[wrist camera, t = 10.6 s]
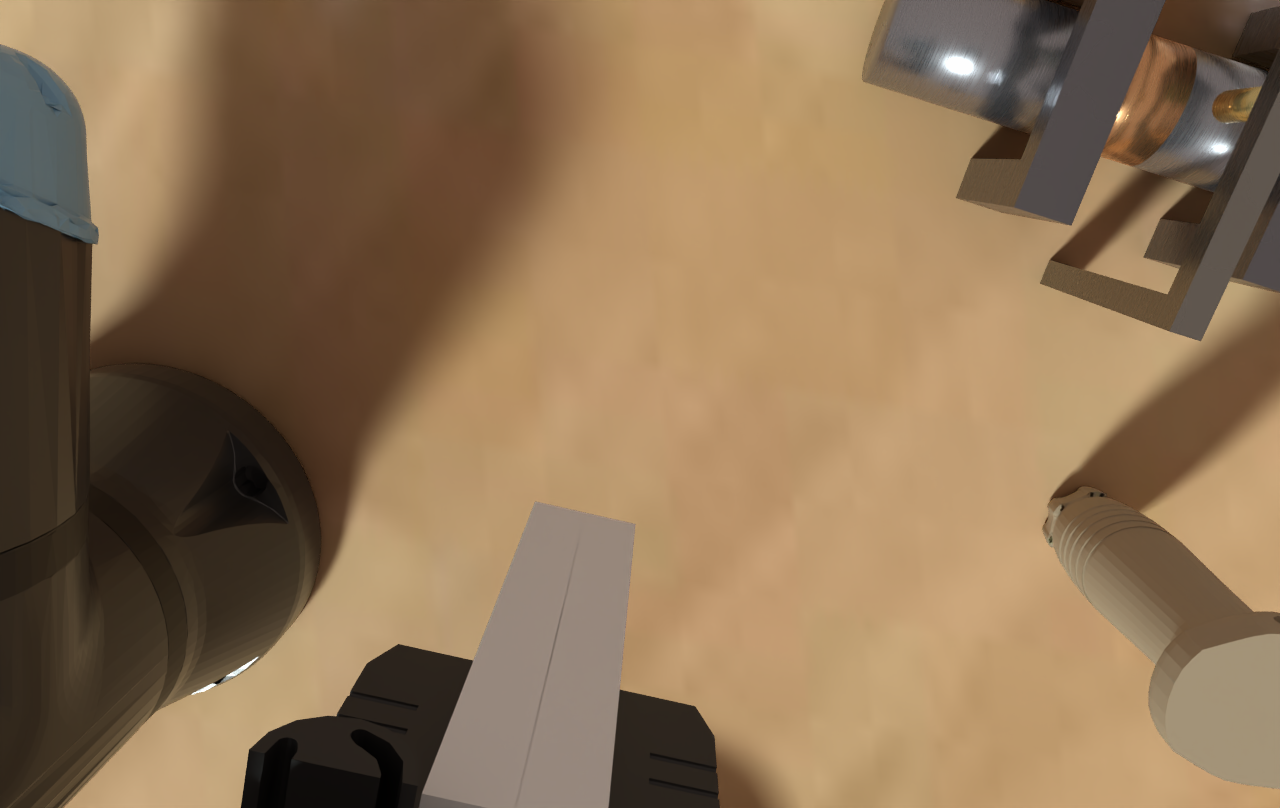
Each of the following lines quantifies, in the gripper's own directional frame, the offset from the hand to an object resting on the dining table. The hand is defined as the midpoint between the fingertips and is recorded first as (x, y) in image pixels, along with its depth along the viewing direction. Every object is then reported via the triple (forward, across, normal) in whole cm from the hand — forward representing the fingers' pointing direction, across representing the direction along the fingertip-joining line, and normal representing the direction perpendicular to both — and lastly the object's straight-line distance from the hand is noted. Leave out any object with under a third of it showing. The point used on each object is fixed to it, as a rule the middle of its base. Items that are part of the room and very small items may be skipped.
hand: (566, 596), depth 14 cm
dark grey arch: (+27, -13, -12) cm, 32 cm away
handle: (+27, -21, +4) cm, 34 cm away
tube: (+27, -16, -12) cm, 33 cm away
